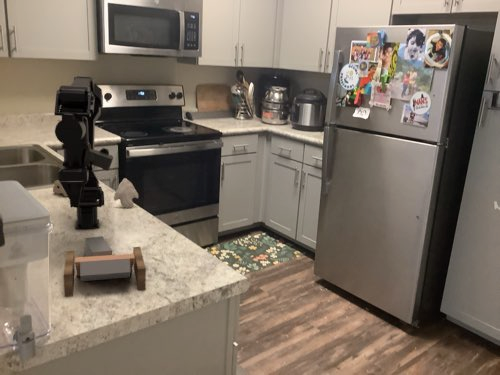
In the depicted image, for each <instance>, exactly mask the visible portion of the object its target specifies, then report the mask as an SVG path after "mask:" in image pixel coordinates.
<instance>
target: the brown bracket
mask: <svg viewBox="0 0 500 375" xmlns="http://www.w3.org/2000/svg"><path fill="white" fill-rule="evenodd" d="M132 249H133V250H132V251H133V253H132V254H134V263H133V271H134V276H135V281H136V282H135V283H136V287H137V290H138V291H144V290H146V289H147V288H146V286H147V284H146V283H147V282H146V276H147V275H146V272H147V270H146V265H145V261H144V256H143V253H142V249H141V246H134V247H133V248H132ZM75 268H76V265H75V250H69V251H68V250H67V251H66V252H65V261H64V269H63V289H64V291H63V292H64V293H63V294H64V298H68V297H73V296H74V285H75V273H76V272H75V271H76V269H75Z"/></svg>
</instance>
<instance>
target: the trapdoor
mask: <svg viewBox="0 0 500 375" xmlns="http://www.w3.org/2000/svg"><path fill="white" fill-rule="evenodd" d="M133 263H134V254H133V253H122V254H112V255H106V256H91V257H85V256H78V257H77V256H76V257H74V265H75V268H76V269H75V271H76V272H75V273H76V276H77V277H80V281H81V282H86V281H87V282H88V281H98V280H101V281H102V280H115V279H123V278H124V279H127V278H130V277H131V276H130V275H131V273H132V272H133V269H134V267H133Z"/></svg>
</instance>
